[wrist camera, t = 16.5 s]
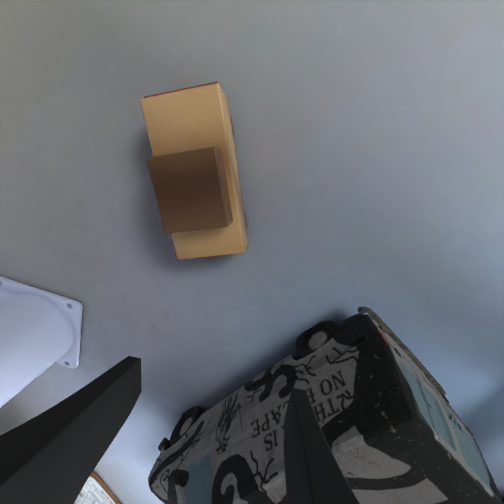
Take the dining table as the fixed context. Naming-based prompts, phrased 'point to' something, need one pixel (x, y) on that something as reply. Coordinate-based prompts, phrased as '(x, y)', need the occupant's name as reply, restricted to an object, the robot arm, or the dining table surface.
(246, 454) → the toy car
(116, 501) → the tin
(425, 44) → the dining table surface
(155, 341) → the dining table surface
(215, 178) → the wooden car
